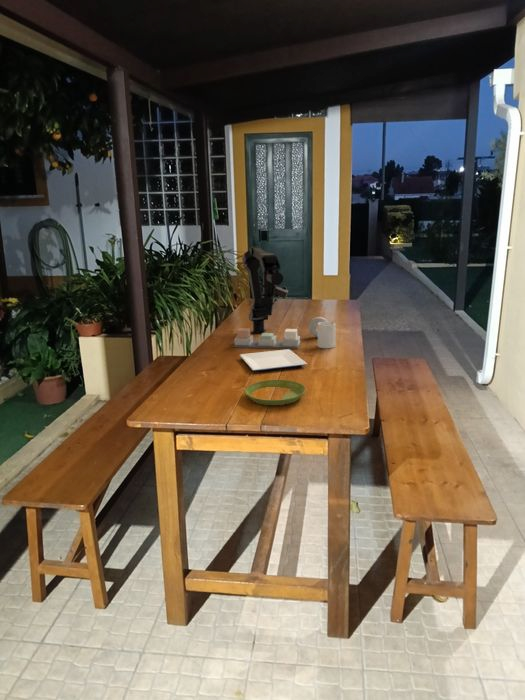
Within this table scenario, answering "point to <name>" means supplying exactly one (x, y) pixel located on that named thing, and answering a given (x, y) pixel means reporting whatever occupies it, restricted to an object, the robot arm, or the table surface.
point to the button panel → (267, 343)
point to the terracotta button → (243, 333)
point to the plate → (272, 359)
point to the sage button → (267, 335)
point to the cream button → (291, 334)
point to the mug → (326, 334)
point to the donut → (313, 325)
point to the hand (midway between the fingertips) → (270, 315)
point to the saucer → (287, 398)
